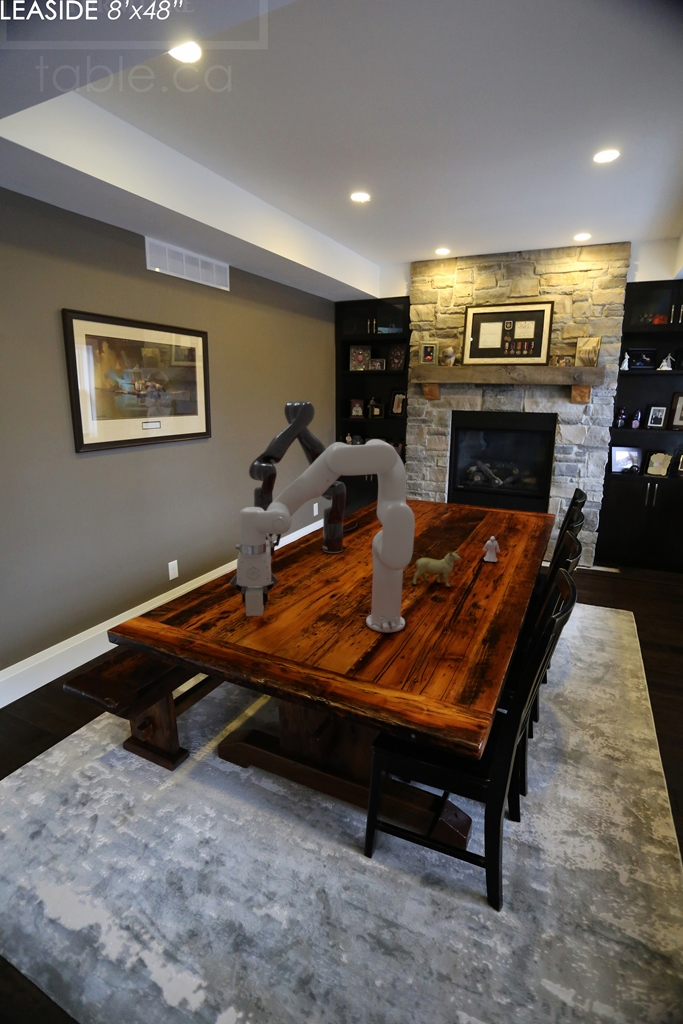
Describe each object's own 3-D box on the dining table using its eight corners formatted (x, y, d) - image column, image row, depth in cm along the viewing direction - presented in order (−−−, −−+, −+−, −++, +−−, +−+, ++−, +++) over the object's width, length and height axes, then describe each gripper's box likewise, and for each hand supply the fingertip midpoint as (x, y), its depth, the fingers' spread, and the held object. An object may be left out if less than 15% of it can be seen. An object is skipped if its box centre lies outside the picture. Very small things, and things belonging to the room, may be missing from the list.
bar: (262, 615, 150) (261, 593, 149) (246, 616, 150) (245, 594, 148) (271, 557, 201) (271, 540, 199) (259, 557, 201) (258, 541, 199)
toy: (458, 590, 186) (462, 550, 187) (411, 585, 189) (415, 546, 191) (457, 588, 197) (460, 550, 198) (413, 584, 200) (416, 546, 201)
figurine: (481, 562, 222) (483, 536, 219) (482, 556, 230) (484, 531, 227) (499, 564, 220) (501, 538, 217) (499, 558, 228) (501, 533, 225)
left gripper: (282, 511, 196) (283, 552, 200) (245, 511, 195) (247, 553, 199) (282, 516, 189) (282, 559, 193) (243, 516, 187) (245, 559, 192)
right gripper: (222, 552, 146) (225, 610, 150) (281, 551, 147) (282, 608, 151) (226, 544, 153) (229, 599, 157) (282, 544, 154) (283, 598, 159)
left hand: (264, 555), depth 196 cm, fingers closed on bar, 5 cm apart
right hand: (255, 603), depth 154 cm, fingers closed on bar, 5 cm apart
